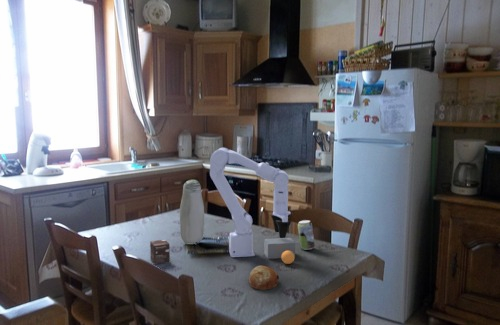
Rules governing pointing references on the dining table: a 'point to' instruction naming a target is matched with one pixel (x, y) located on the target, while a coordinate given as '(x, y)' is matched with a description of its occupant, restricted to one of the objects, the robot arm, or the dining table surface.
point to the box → (159, 251)
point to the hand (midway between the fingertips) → (280, 234)
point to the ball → (287, 257)
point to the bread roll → (263, 278)
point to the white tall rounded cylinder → (192, 213)
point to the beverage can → (306, 234)
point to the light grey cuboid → (278, 247)
